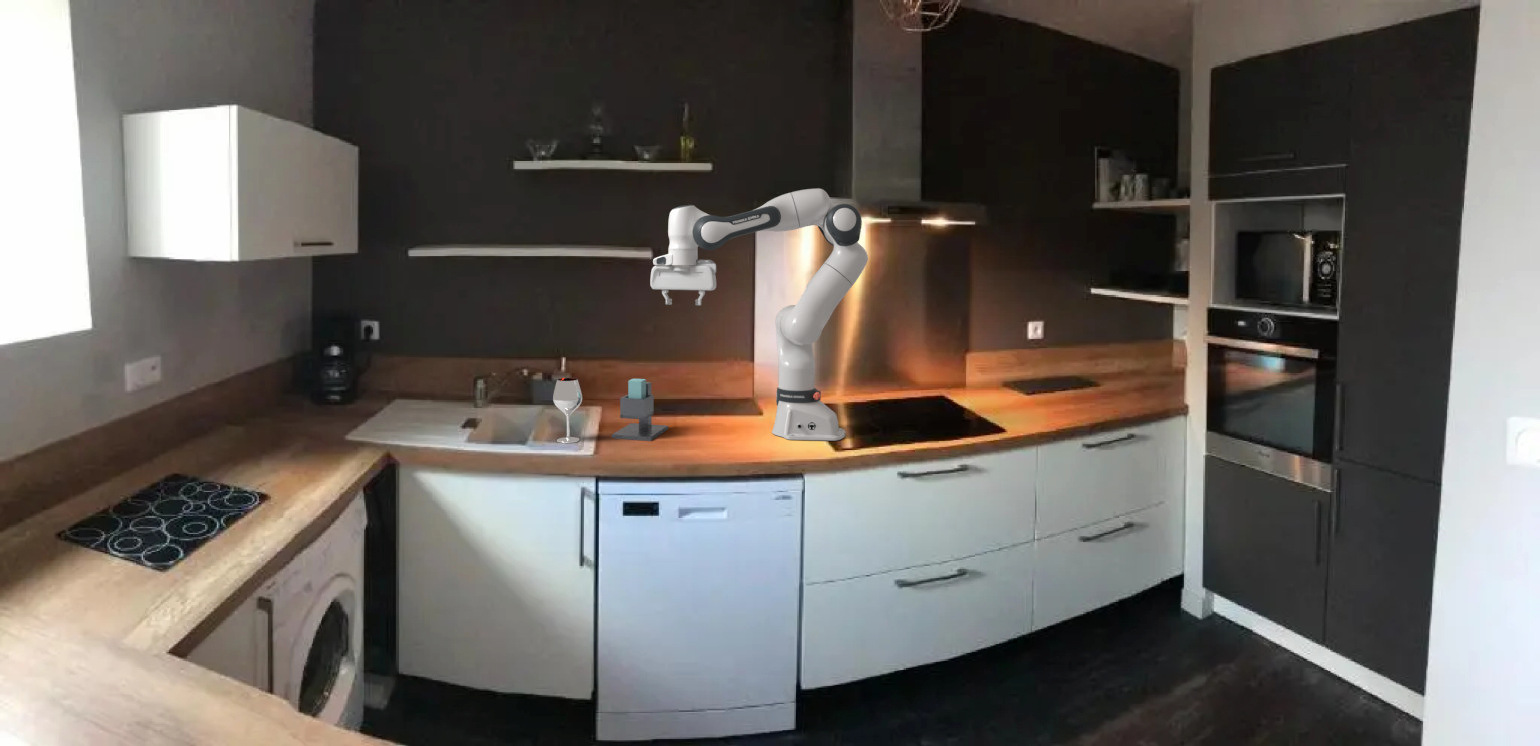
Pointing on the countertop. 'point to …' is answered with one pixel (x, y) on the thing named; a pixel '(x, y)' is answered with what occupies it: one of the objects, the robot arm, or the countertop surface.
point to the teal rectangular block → (637, 388)
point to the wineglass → (567, 402)
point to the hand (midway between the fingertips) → (683, 304)
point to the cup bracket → (643, 412)
